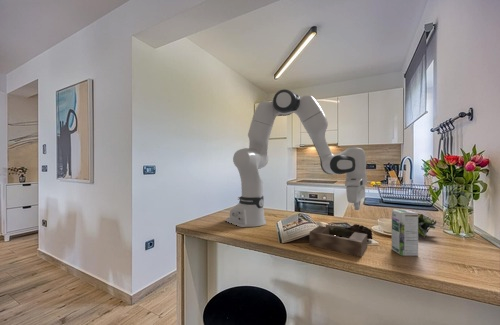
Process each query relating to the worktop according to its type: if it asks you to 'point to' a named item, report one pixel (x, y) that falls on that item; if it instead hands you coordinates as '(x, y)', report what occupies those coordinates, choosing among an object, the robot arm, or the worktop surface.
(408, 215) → the syrup box
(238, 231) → the worktop surface
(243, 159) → the robot arm
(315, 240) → the socket block
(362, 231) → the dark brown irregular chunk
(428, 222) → the green leafy plant
